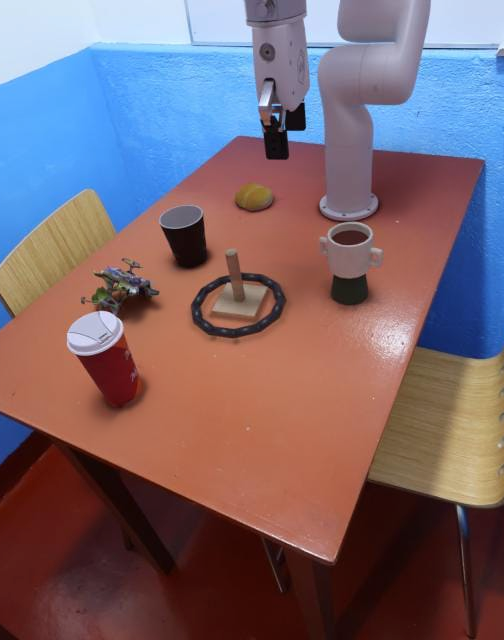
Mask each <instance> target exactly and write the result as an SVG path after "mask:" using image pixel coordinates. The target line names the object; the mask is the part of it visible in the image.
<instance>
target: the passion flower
mask: <svg viewBox="0 0 504 640" xmlns="http://www.w3.org/2000/svg"><path fill="white" fill-rule="evenodd" d="M121 261H122V262H123V263H126V264H128V265H129V269H128V270H126V271H124V270H123V269H122V268H118V267H115V266H106V268H104V270H101V271H100V273H99V272H96V270H95V269H94V270H92V273H93V275H94V276H96V277H97V278H100V279H102V280H103V281H104V282H105V285H106V287H104V286H103V285H101V286H100V287H97V288H96V289H95V293H93V294H92V295H91V300H88V299H87V300H86V296H81V297H80V303H81V304H82V305H85V304H86V303H91V304H93V306H97V305H99V304H100V310H99V311H105V308H106V307H107V306H109V308H110V310H111V313H112V314H113V315H115V316H116V317H117V314H118V313H119V312H120V310H121V309H122V306H121V305H122V304H123V303H124V300H125V299H126V298H127V297H129V296H131V297H134V296H136V295H139V296H141V297H142V298H146V299H153V296H155V297H157V296H159V295H160V290H157V289H154V288H153V283H152V282H150V280H149V279H144V278H142V277H139V276H138V275H136V274H135V273H134V272H133V269H141V268H144V266H142V265H141V264H140V263H139V262H136V261H135V260H131V259H128V258H125V257H121ZM115 284H116V285H115ZM114 292H119V295H118V298H117V299H115V298H114V296H113V293H114ZM123 292H124V293H125V294H124V296H123V298H122V299H121V295H122V293H123ZM110 301H111V302H113V303H114V304H111V303H109V302H110Z"/></svg>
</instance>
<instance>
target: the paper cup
mask: <svg viewBox="0 0 504 640" xmlns="http://www.w3.org/2000/svg"><path fill="white" fill-rule="evenodd" d="M123 323H124V322H122V320H121V319H120V318H119V317H117V315H116V316H115V315H113V312H109V311H106V310H103V311H100V310H98V311H94V312H89V313H86V314H84V315H82V316H80V317H79V318H78V319H76V320H75V321H74V322H73V323H72V324H71V325H70V327H69V328H68V331H67V333H66V346H67V348H68V350H69V351H70V352H71V353H72V354H75V356H76V357H77V359H78V360H79V362H80V364H81V365H82V366H83V368H84V369H85V371H86V372H87V374H88V375H89V377H90V378H91V380H92V381H93V383H94V384H95V386H96V387H97V389H98V390H99V392H100V393H101V394H102V396H103V397H104V398H105V400H106V401H107V402H108V404H110V405H111V406H112V407H114V408H124V406H125V404H128V403H130V402H131V401H134V399H136V397H138V395H139V394H140V393H141V391H142V388H143V386H142V385H143V383H142V380H141V377H140V374H139V371H138V369H137V365H136V363H135V360H134V358H133V357H134V356H133V354H132V351H131V349H130V346H129V343H128V341H127V338H126V335H125V333H124V324H123Z"/></svg>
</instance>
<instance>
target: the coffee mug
mask: <svg viewBox="0 0 504 640" xmlns="http://www.w3.org/2000/svg"><path fill="white" fill-rule="evenodd" d="M158 223H159V226H160V228H161V231H162V232H163V234H164V237H165V239H166V241H167V243H168V246H169V248H170V250H171V252H172V254H173V257H174V259H175V261H176V263H177V265H178V266H179V267H180V268H182V269H194V268H198V267H200V266H202V265H203V264H205V263H206V262H207V261H208V247H207V238H206V227H205V218H204V210H203V209H202V208H201V207H200V206H198V205H195V204H183V205H182V204H181V205H177V206H174V207H171V208H168V209H167V210H165V211H164V212H162V213H161V215H160V216H159V218H158Z"/></svg>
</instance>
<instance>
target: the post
mask: <svg viewBox="0 0 504 640" xmlns="http://www.w3.org/2000/svg"><path fill="white" fill-rule="evenodd" d="M224 255H225V260H226V265H227V270H228V275H229V276H230V280H231V283H229V282H227V284H224V287H223V289H222V291H221V293H220V294H219V297H218V298H217V300H216V301H215V303H214V304H213V306H212V309H211V313H215V314H222V315H229V316H231V315H232V316H238V317H247V318H255V317H256V316H257V313H258V311H259V309H260V306H261V305H262V303H263V300H264V298H265V296H266V294H267V291H268V290H269V288H268V287H267V286H264V285H256V284H246V283H244V282H243V280H242V276H241V272H242V270H241V265H240V260H239V254H238V250H237V249H236V248H228V249H226V250H225V251H224Z"/></svg>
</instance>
